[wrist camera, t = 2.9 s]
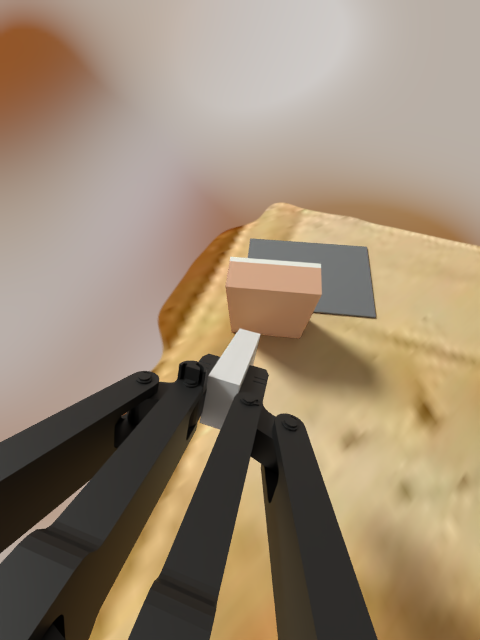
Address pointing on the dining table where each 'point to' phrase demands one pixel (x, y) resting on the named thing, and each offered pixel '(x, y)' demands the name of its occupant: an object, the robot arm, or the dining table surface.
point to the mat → (328, 273)
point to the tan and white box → (272, 295)
